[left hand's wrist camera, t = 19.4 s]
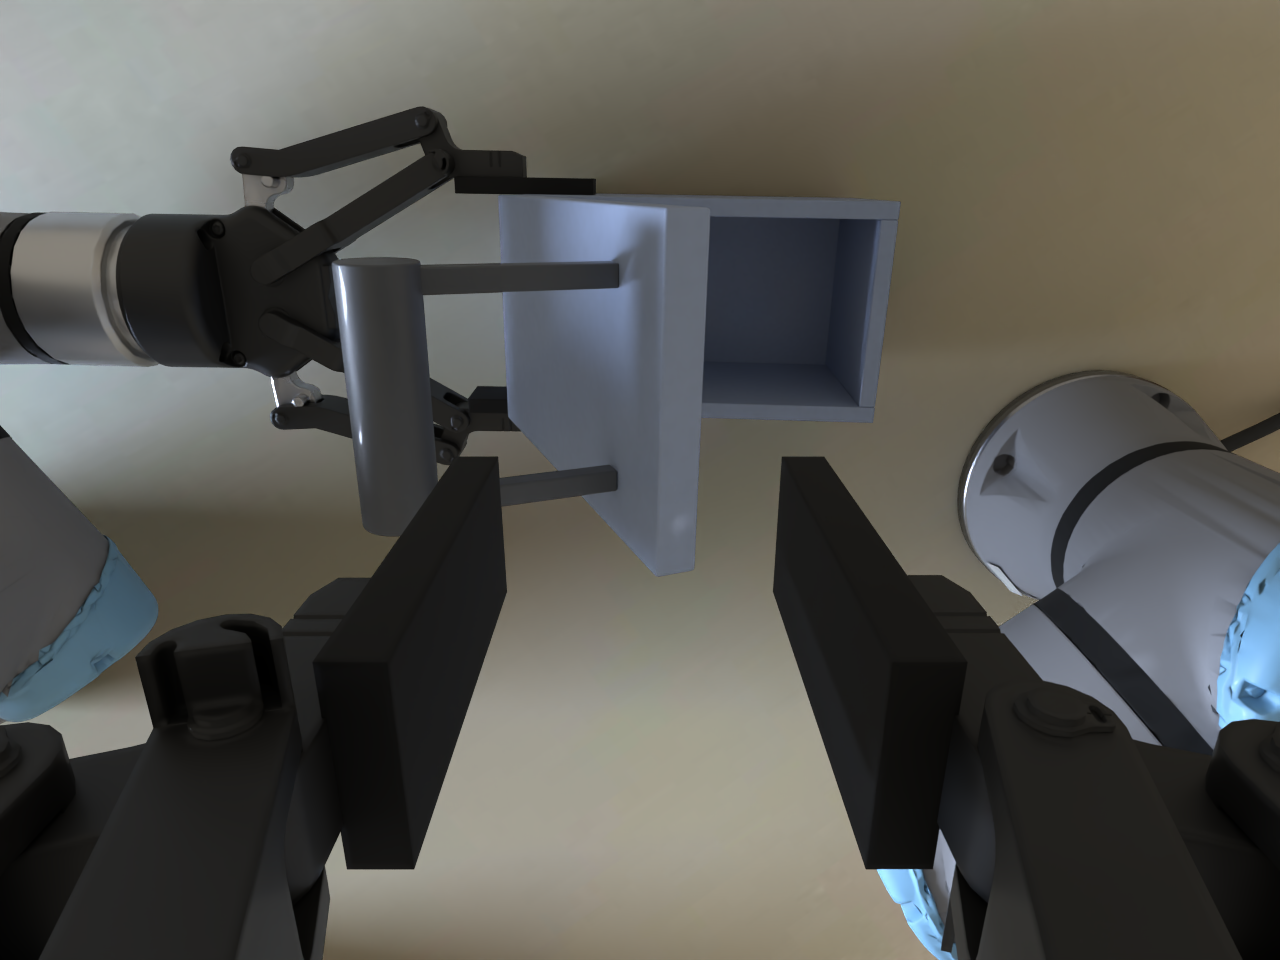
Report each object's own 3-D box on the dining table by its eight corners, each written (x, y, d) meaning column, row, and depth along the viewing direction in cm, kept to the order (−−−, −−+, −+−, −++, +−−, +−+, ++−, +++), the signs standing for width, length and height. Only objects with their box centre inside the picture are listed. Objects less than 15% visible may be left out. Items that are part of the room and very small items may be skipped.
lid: (712, 207, 19) (330, 205, 16) (695, 571, 23) (380, 629, 20) (525, 194, 34) (309, 192, 31) (533, 415, 38) (340, 433, 35)
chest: (852, 198, 44) (901, 201, 34) (834, 374, 47) (873, 423, 38) (551, 192, 44) (514, 194, 35) (555, 367, 48) (523, 412, 38)
